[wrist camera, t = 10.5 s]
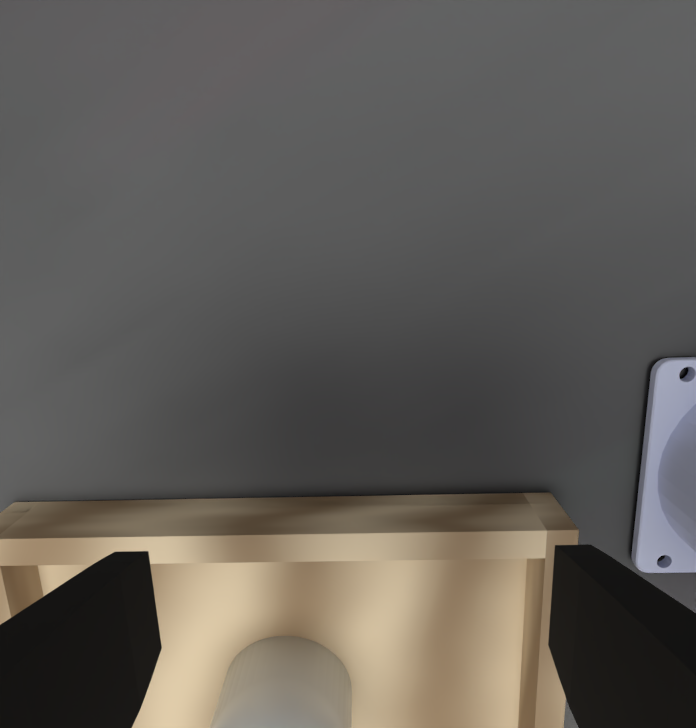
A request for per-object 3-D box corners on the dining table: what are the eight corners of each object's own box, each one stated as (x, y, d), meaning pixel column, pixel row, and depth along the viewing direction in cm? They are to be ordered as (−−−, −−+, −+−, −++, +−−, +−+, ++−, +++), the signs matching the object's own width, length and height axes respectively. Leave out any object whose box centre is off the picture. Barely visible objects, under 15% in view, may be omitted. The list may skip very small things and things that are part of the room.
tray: (550, 492, 19) (578, 530, 16) (529, 827, 22) (549, 898, 20) (14, 502, 19) (-36, 539, 17) (80, 825, 23) (46, 894, 21)
